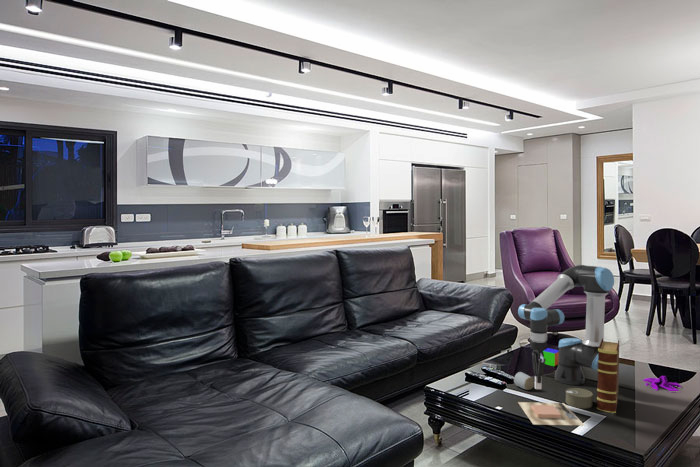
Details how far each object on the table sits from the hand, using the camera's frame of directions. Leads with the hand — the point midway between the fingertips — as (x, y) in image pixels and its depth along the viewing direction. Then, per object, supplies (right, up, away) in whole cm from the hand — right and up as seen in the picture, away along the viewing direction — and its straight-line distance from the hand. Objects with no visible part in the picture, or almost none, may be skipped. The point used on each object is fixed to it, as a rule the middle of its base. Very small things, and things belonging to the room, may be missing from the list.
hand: (538, 388), depth 233 cm
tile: (-1, -7, -7) cm, 9 cm away
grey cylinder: (+3, -8, +24) cm, 26 cm away
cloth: (+76, -8, +25) cm, 80 cm away
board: (+1, -9, -11) cm, 14 cm away
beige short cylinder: (+20, -9, 0) cm, 22 cm away
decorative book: (+34, -9, 0) cm, 35 cm away
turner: (+10, -8, -9) cm, 15 cm away
